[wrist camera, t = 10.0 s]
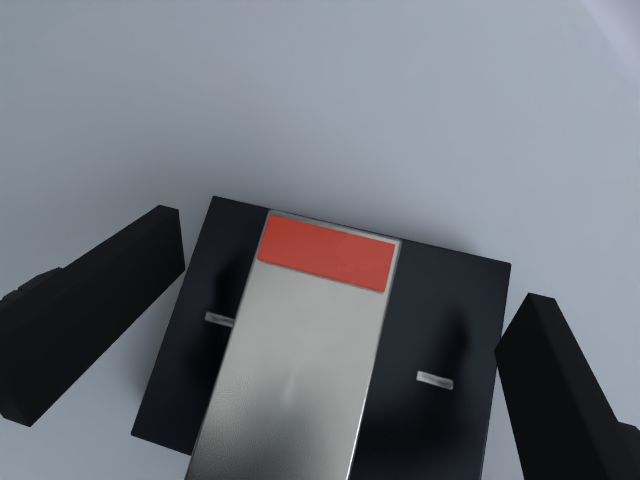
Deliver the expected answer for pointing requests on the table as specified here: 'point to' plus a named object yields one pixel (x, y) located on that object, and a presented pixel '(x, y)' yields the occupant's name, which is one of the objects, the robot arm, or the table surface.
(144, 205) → the table surface
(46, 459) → the table surface
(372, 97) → the table surface
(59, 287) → the robot arm
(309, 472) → the red-capped silver block
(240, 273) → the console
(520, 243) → the table surface
